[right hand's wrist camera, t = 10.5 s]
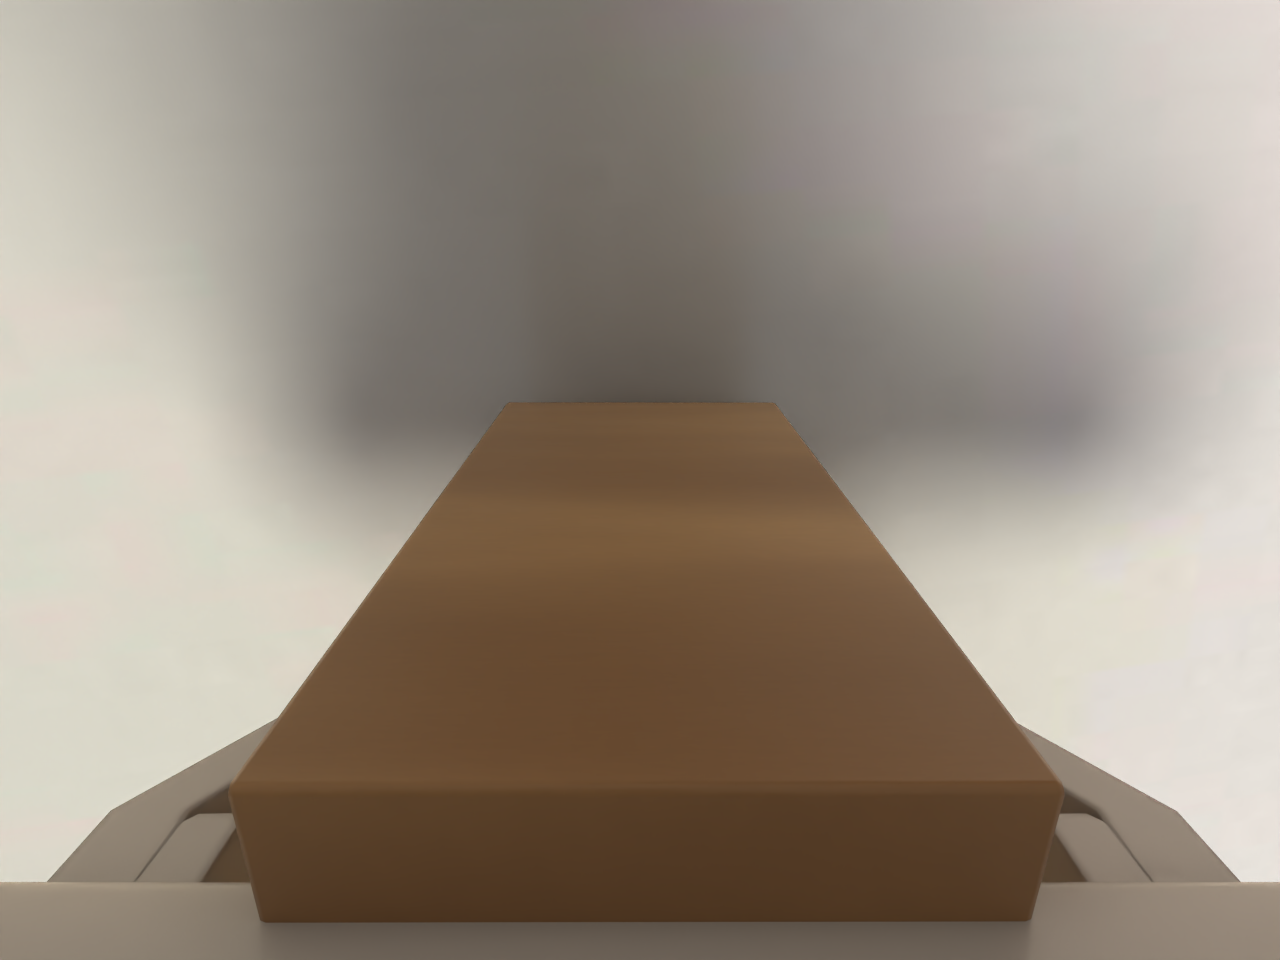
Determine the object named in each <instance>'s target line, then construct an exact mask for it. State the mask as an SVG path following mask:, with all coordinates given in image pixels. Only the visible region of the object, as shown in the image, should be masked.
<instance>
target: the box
mask: <svg viewBox="0 0 1280 960" xmlns="http://www.w3.org/2000/svg"><path fill="white" fill-rule="evenodd" d="M1064 795H1065V793H1064V787H1063V784H1062V782H1061V780H1060V779H1059V778H1058V777H1057V775H1056V774H1055V773H1054V771H1053V770H1052V769H1051V767H1050V766H1049V765H1048V763H1047V762H1046V761H1045V759H1044V758H1043V757H1042V755H1041V754H1040V753H1039V751H1038V750H1037V749H1036V747H1035V746H1034V745H1033V744H1032V742H1031V741H1030V740H1029V738H1028V737H1027V736H1026V734H1025V733H1024V732H1023V730H1022V729H1021V728H1020V726H1019V725H1018V724H1017V722H1016V721H1015V720H1014V718H1013V717H1012V716H1011V714H1010V713H1009V712H1008V711H1007V709H1006V708H1005V707H1004V705H1003V704H1002V703H1001V701H1000V700H999V699H998V697H997V696H996V695H995V693H994V692H993V691H992V689H991V688H990V687H989V685H988V684H987V683H986V681H985V680H984V679H983V678H982V676H981V675H980V674H979V672H978V671H977V670H976V668H975V667H974V666H973V664H972V663H971V662H970V660H969V659H968V658H967V656H966V655H965V654H964V652H963V651H962V650H961V648H960V647H959V646H958V644H957V643H956V642H955V641H954V639H953V638H952V637H951V635H950V634H949V633H948V631H947V630H946V629H945V627H944V626H943V625H942V623H941V622H940V621H939V619H938V618H937V617H936V615H935V614H934V613H933V611H932V610H931V609H930V608H929V606H928V605H927V604H926V602H925V601H924V600H923V598H922V597H921V596H920V594H919V593H918V592H917V590H916V589H915V588H914V586H913V585H912V584H911V582H910V581H909V580H908V578H907V577H906V576H905V575H904V573H903V572H902V571H901V569H900V568H899V567H898V565H897V564H896V563H895V561H894V560H893V559H892V557H891V556H890V555H889V553H888V552H887V551H886V549H885V548H884V547H883V545H882V544H881V543H880V541H879V540H878V539H877V538H876V536H875V535H874V534H873V532H872V531H871V530H870V528H869V527H868V526H867V524H866V523H865V522H864V520H863V519H862V518H861V516H860V515H859V514H858V512H857V511H856V510H855V508H854V507H853V506H852V505H851V503H850V502H849V501H848V499H847V498H846V497H845V495H844V494H843V493H842V491H841V490H840V489H839V487H838V486H837V485H836V483H835V482H834V481H833V479H832V478H831V477H830V475H829V474H828V473H827V472H826V470H825V469H824V468H823V466H822V465H821V464H820V462H819V461H818V460H817V458H816V457H815V456H814V454H813V453H812V452H811V450H810V449H809V448H808V446H807V445H806V444H805V442H804V441H803V440H802V439H801V437H800V436H799V435H798V433H797V432H796V431H795V429H794V428H793V427H792V425H791V424H790V423H789V421H788V420H787V419H786V417H785V416H784V415H783V413H782V412H781V411H780V409H779V408H778V407H777V405H776V404H775V403H665V402H509V403H507V404H506V406H505V407H504V408H503V410H502V411H501V412H500V414H499V415H498V417H497V418H496V419H495V421H494V422H493V423H492V425H491V426H490V427H489V429H488V430H487V432H486V433H485V434H484V436H483V437H482V438H481V440H480V441H479V443H478V444H477V445H476V447H475V448H474V449H473V451H472V452H471V454H470V455H469V456H468V458H467V459H466V460H465V462H464V463H463V465H462V466H461V467H460V469H459V470H458V471H457V473H456V474H455V476H454V477H453V478H452V480H451V481H450V482H449V484H448V485H447V487H446V488H445V489H444V491H443V492H442V493H441V495H440V496H439V498H438V499H437V500H436V502H435V503H434V504H433V506H432V507H431V508H430V510H429V511H428V513H427V514H426V515H425V517H424V518H423V519H422V521H421V522H420V524H419V525H418V526H417V528H416V529H415V530H414V532H413V533H412V535H411V536H410V537H409V539H408V540H407V541H406V543H405V544H404V546H403V547H402V548H401V550H400V551H399V552H398V554H397V555H396V557H395V558H394V559H393V561H392V562H391V563H390V565H389V566H388V568H387V569H386V570H385V572H384V573H383V574H382V576H381V577H380V578H379V580H378V581H377V583H376V584H375V585H374V587H373V588H372V589H371V591H370V592H369V594H368V595H367V596H366V598H365V599H364V600H363V602H362V603H361V605H360V606H359V607H358V609H357V610H356V611H355V613H354V614H353V616H352V617H351V618H350V620H349V621H348V622H347V624H346V625H345V627H344V628H343V629H342V631H341V632H340V633H339V635H338V636H337V638H336V639H335V640H334V642H333V643H332V644H331V646H330V647H329V648H328V650H327V651H326V653H325V654H324V655H323V657H322V658H321V659H320V661H319V662H318V664H317V665H316V666H315V668H314V669H313V670H312V672H311V673H310V675H309V676H308V677H307V679H306V680H305V681H304V683H303V684H302V686H301V687H300V688H299V690H298V691H297V692H296V694H295V695H294V697H293V698H292V699H291V701H290V702H289V703H288V705H287V706H286V708H285V709H284V710H283V712H282V713H281V714H280V716H279V717H278V718H277V720H276V721H275V723H274V724H273V725H272V727H271V728H270V729H269V731H268V732H267V734H266V735H265V736H264V738H263V739H262V740H261V742H260V743H259V745H258V746H257V747H256V749H255V750H254V751H253V753H252V754H251V756H250V757H249V758H248V760H247V761H246V762H245V764H244V765H243V767H242V768H241V769H240V771H239V772H238V773H237V775H236V776H235V778H234V779H233V780H232V782H231V783H230V786H229V791H228V798H229V802H230V806H231V810H232V814H233V817H234V821H235V825H236V829H237V833H238V837H239V841H240V845H241V848H242V852H243V856H244V860H245V864H246V868H247V872H248V876H249V879H250V883H251V887H252V891H253V895H254V899H255V903H256V907H257V910H258V914H259V918H260V920H261V921H263V922H265V923H409V922H999V921H1028V920H1030V919H1031V918H1032V915H1033V911H1034V907H1035V903H1036V900H1037V896H1038V892H1039V889H1040V885H1041V881H1042V877H1043V874H1044V870H1045V866H1046V862H1047V859H1048V855H1049V851H1050V848H1051V844H1052V840H1053V836H1054V833H1055V829H1056V825H1057V822H1058V818H1059V814H1060V810H1061V807H1062V803H1063V799H1064Z"/></svg>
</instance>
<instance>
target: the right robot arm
mask: <svg viewBox="0 0 1280 960" xmlns="http://www.w3.org/2000/svg"><path fill="white" fill-rule="evenodd" d="M276 720H277V719H275V720H273V721H271V722H270V723H268V724H266V725H264V726H262V727H261V728H259V729H257V730H255V731H253V732H252V733H250V734H248V735H246V736H244V737H243V738H241V739H239V740H237V741H235V742H234V743H232V744H230V745H228V746H226V747H225V748H223V749H221V750H219V751H217V752H216V753H214V754H212V755H210V756H208V757H207V758H205V759H203V760H201V761H199V762H198V763H196V764H194V765H192V766H190V767H188V768H187V769H185V770H183V771H181V772H179V773H178V774H176V775H174V776H172V777H170V778H169V779H167V780H165V781H163V782H161V783H160V784H158V785H156V786H154V787H152V788H151V789H149V790H147V791H145V792H143V793H142V794H140V795H138V796H136V797H134V798H133V799H131V800H129V801H127V802H125V803H124V804H122V805H120V806H118V807H116V808H115V809H113V810H111V811H110V812H109V813H108V814H107V815H106V817H105V818H104V819H103V820H102V821H101V822H100V823H99V824H98V826H97V827H96V828H95V829H94V830H93V831H92V832H91V833H90V834H89V836H88V837H87V838H86V839H85V840H84V841H83V842H82V843H81V844H80V846H79V847H78V848H77V849H76V850H75V851H74V852H73V853H72V854H71V856H70V857H69V858H68V859H67V860H66V861H65V862H64V863H63V865H62V866H61V867H60V868H59V869H58V870H57V871H56V872H55V873H54V875H53V876H52V877H51V878H50V879H49V880H48V881H47V882H0V960H1280V882H1240V881H1239V880H1238V878H1237V877H1236V876H1235V875H1234V874H1233V873H1232V872H1231V871H1230V870H1229V868H1228V867H1227V866H1226V865H1225V864H1224V863H1223V862H1222V861H1221V860H1220V858H1219V857H1218V856H1217V855H1216V854H1215V853H1214V852H1213V851H1212V850H1211V849H1210V847H1209V846H1208V845H1207V844H1206V843H1205V842H1204V841H1203V840H1202V839H1201V837H1200V836H1199V835H1198V834H1197V833H1196V832H1195V831H1194V830H1193V829H1192V827H1191V826H1190V825H1189V824H1188V823H1187V822H1186V821H1185V820H1184V819H1183V817H1182V816H1181V815H1180V814H1179V813H1178V812H1177V811H1175V810H1173V809H1172V808H1170V807H1168V806H1166V805H1164V804H1163V803H1161V802H1159V801H1157V800H1155V799H1153V798H1152V797H1150V796H1148V795H1146V794H1144V793H1143V792H1141V791H1139V790H1137V789H1135V788H1134V787H1132V786H1130V785H1128V784H1126V783H1125V782H1123V781H1121V780H1119V779H1117V778H1115V777H1114V776H1112V775H1110V774H1108V773H1106V772H1105V771H1103V770H1101V769H1099V768H1097V767H1096V766H1094V765H1092V764H1090V763H1088V762H1087V761H1085V760H1083V759H1081V758H1079V757H1077V756H1076V755H1074V754H1072V753H1070V752H1068V751H1067V750H1065V749H1063V748H1061V747H1059V746H1058V745H1056V744H1054V743H1052V742H1050V741H1049V740H1047V739H1045V738H1043V737H1041V736H1039V735H1038V734H1036V733H1034V732H1032V731H1030V730H1029V729H1027V728H1025V727H1023V726H1021V725H1020V724H1018V723H1017V724H1018V725H1019V726H1020V728H1021V729H1022V730H1023V732H1024V733H1025V734H1026V736H1027V737H1028V738H1029V740H1030V741H1031V742H1032V744H1033V745H1034V746H1035V747H1036V749H1037V750H1038V751H1039V753H1040V754H1041V755H1042V757H1043V758H1044V759H1045V761H1046V762H1047V763H1048V765H1049V766H1050V767H1051V769H1052V770H1053V771H1054V773H1055V774H1056V775H1057V777H1058V778H1059V779H1060V780H1061V782H1062V784H1063V787H1064V793H1065V795H1064V799H1063V803H1062V807H1061V810H1060V814H1059V818H1058V822H1057V825H1056V829H1055V833H1054V836H1053V840H1052V844H1051V848H1050V851H1049V855H1048V859H1047V862H1046V866H1045V870H1044V874H1043V877H1042V881H1041V885H1040V889H1039V892H1038V896H1037V900H1036V903H1035V907H1034V911H1033V915H1032V918H1031V919H1030V920H1028V921H999V922H409V923H265V922H263V921H261V920H260V918H259V914H258V910H257V907H256V903H255V899H254V895H253V891H252V887H251V883H250V879H249V876H248V872H247V868H246V864H245V860H244V856H243V852H242V848H241V845H240V841H239V837H238V833H237V829H236V825H235V821H234V817H233V814H232V810H231V806H230V802H229V798H228V791H229V786H230V783H231V782H232V780H233V779H234V778H235V776H236V775H237V773H238V772H239V771H240V769H241V768H242V767H243V765H244V764H245V762H246V761H247V760H248V758H249V757H250V756H251V754H252V753H253V751H254V750H255V749H256V747H257V746H258V745H259V743H260V742H261V740H262V739H263V738H264V736H265V735H266V734H267V732H268V731H269V729H270V728H271V727H272V725H273V724H274V723H275V721H276Z"/></svg>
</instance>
